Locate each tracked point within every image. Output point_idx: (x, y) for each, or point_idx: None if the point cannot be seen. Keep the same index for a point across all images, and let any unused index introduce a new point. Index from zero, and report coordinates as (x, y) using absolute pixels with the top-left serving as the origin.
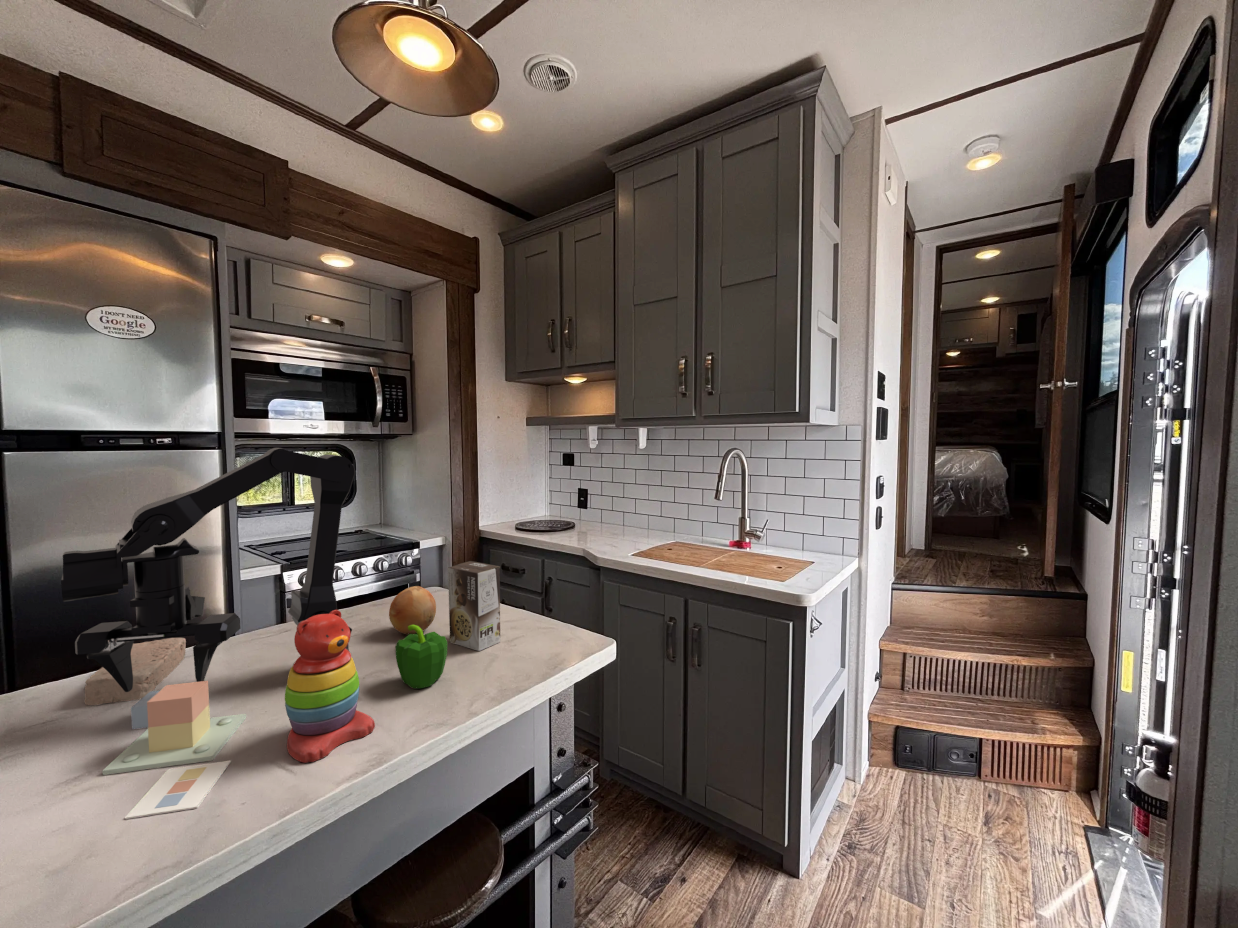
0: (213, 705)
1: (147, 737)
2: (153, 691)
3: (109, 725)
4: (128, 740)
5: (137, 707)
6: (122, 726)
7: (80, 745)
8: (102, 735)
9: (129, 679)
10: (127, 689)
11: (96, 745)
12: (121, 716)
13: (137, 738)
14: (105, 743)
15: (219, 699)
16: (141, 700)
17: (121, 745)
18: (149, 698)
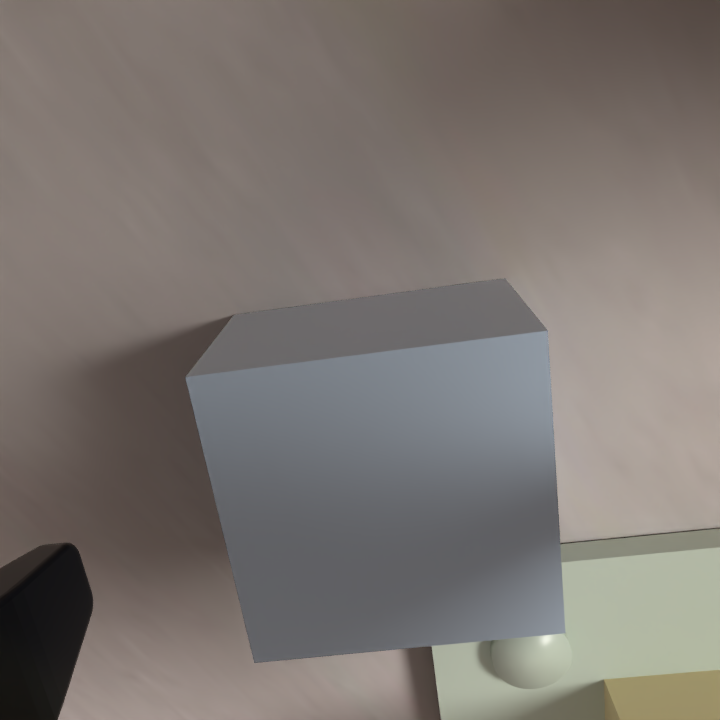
0: (697, 266)
1: (495, 711)
2: (220, 381)
3: (81, 478)
4: (363, 664)
5: (304, 654)
6: (186, 502)
7: (115, 677)
8: (149, 592)
9: (17, 671)
10: (81, 634)
11: (211, 688)
12: (53, 360)
13: (441, 716)
14: (247, 676)
15: (703, 152)
16: (249, 557)
17: (361, 706)
18: (297, 529)
